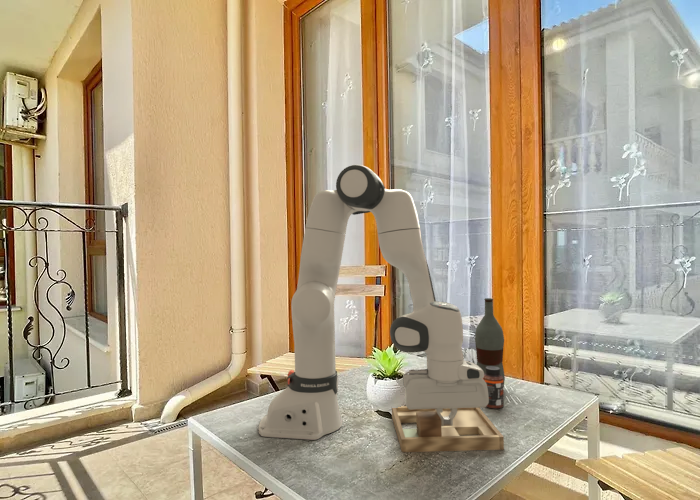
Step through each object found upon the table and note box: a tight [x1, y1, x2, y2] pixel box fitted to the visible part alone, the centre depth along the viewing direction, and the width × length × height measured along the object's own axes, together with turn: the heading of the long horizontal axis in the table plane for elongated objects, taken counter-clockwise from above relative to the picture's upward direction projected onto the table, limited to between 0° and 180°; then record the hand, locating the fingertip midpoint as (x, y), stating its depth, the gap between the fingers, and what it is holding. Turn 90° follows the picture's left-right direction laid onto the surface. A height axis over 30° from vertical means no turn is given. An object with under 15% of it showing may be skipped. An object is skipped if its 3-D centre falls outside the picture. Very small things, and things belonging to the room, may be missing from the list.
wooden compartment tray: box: [391, 405, 505, 453], centre depth 108 cm, size 24×20×3 cm
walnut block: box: [416, 411, 442, 437], centre depth 102 cm, size 5×5×5 cm
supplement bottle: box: [482, 366, 505, 410], centre depth 125 cm, size 6×6×11 cm
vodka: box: [474, 297, 506, 387], centre depth 139 cm, size 9×9×30 cm
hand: (446, 425), depth 103 cm, fingers closed
